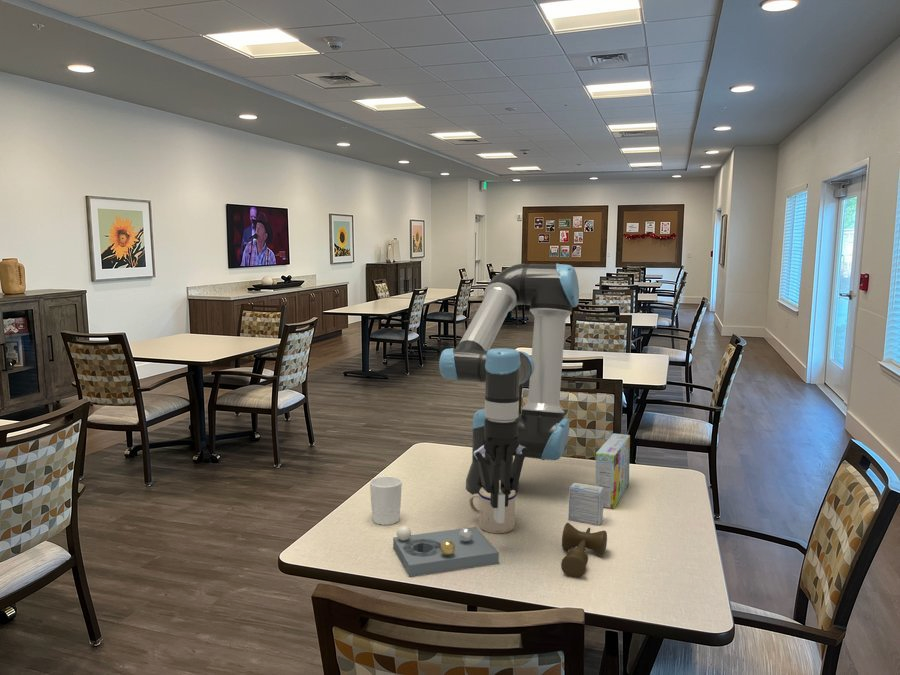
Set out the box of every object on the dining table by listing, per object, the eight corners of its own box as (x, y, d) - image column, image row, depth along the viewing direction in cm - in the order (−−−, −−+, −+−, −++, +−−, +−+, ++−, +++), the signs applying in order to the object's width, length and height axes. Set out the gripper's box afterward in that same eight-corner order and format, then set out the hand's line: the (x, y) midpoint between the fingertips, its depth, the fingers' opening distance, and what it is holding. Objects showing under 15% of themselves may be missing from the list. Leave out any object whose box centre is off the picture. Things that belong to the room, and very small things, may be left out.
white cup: (396, 527, 159) (396, 488, 158) (365, 524, 161) (365, 485, 159) (405, 515, 167) (405, 477, 166) (375, 512, 168) (375, 475, 167)
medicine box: (603, 519, 165) (604, 486, 164) (599, 526, 161) (600, 492, 160) (572, 514, 168) (573, 481, 167) (567, 520, 164) (568, 487, 163)
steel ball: (470, 537, 148) (470, 524, 147) (475, 543, 145) (475, 530, 144) (456, 539, 147) (457, 526, 146) (461, 545, 144) (461, 531, 143)
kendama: (549, 576, 137) (568, 536, 155) (595, 586, 133) (609, 544, 152) (550, 549, 136) (569, 512, 154) (597, 559, 132) (611, 519, 151)
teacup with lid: (520, 523, 162) (521, 478, 161) (507, 537, 154) (508, 489, 153) (476, 514, 168) (477, 470, 166) (461, 527, 160) (462, 481, 158)
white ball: (409, 536, 148) (409, 522, 148) (412, 542, 145) (412, 528, 145) (395, 537, 147) (395, 524, 147) (398, 543, 144) (398, 530, 144)
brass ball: (452, 550, 141) (452, 536, 141) (457, 557, 138) (457, 543, 138) (438, 552, 140) (438, 538, 140) (442, 559, 137) (442, 545, 137)
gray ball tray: (475, 536, 154) (475, 526, 154) (498, 563, 141) (498, 552, 141) (393, 547, 148) (393, 537, 148) (409, 576, 135) (409, 565, 135)
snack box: (610, 482, 193) (612, 432, 191) (629, 485, 190) (632, 434, 188) (593, 506, 174) (595, 451, 172) (614, 510, 171) (616, 454, 169)
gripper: (521, 413, 150) (518, 511, 153) (468, 416, 146) (466, 517, 149) (535, 420, 143) (532, 523, 146) (480, 424, 139) (477, 530, 142)
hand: (498, 520), depth 148 cm, fingers closed
